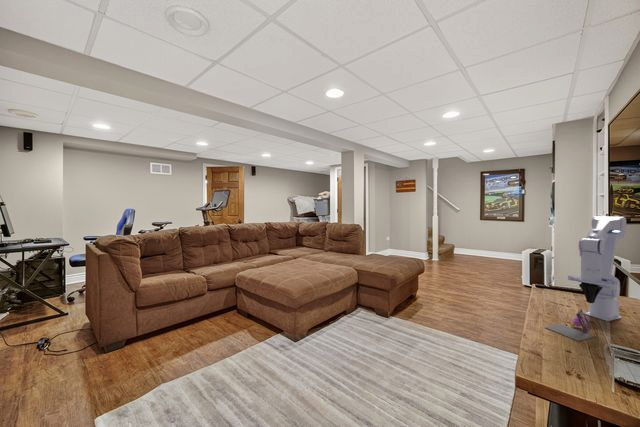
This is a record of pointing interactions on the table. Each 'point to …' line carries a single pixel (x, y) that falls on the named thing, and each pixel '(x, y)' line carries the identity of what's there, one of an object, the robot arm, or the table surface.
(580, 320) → the purple monster photo frame
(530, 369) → the table surface
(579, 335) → the mat
